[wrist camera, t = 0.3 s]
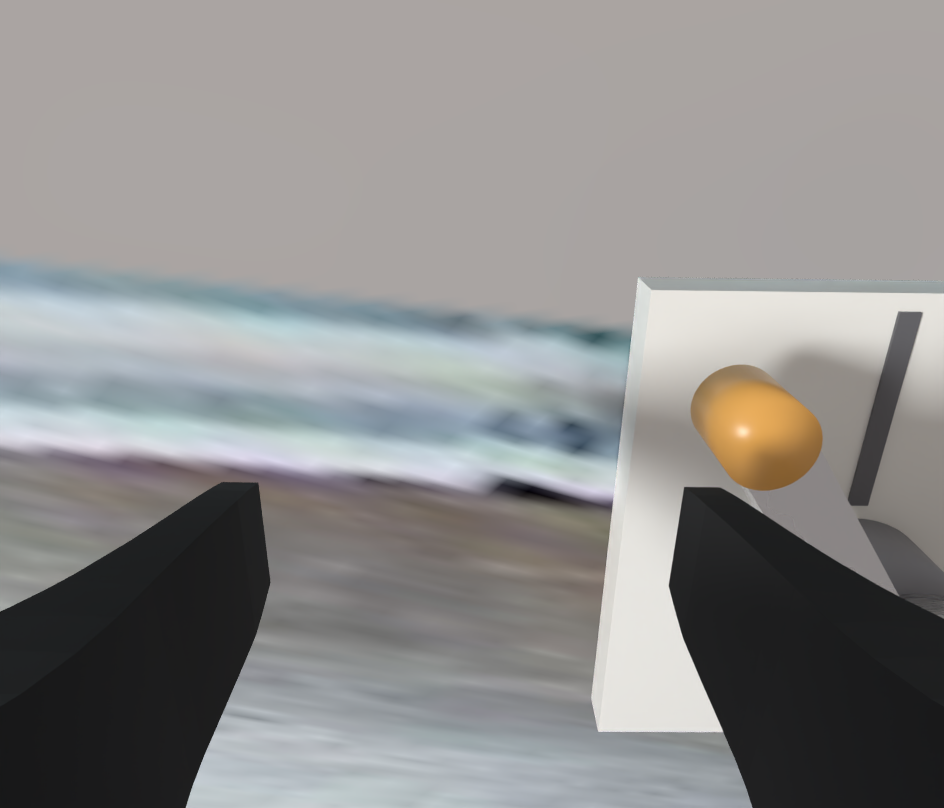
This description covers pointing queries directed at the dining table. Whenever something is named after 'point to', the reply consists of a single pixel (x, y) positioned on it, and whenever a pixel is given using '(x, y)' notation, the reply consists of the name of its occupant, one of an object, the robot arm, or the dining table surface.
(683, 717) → the board
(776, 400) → the lever with orange knob
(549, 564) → the dining table surface
